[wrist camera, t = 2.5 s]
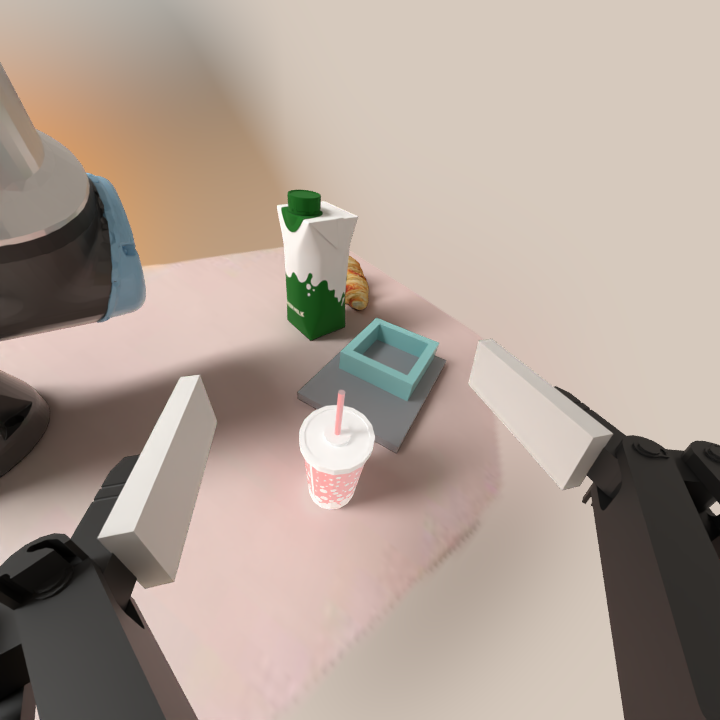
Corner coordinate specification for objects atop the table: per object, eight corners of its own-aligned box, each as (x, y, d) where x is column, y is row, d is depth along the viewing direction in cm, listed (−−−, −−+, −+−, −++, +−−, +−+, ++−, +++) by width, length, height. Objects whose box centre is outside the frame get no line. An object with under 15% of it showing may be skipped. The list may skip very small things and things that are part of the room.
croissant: (373, 326, 58) (396, 292, 54) (334, 315, 51) (357, 274, 48) (329, 277, 71) (346, 246, 67) (293, 262, 64) (309, 227, 60)
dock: (396, 453, 33) (404, 431, 30) (297, 398, 37) (296, 375, 35) (443, 366, 45) (452, 345, 43) (365, 332, 50) (368, 311, 47)
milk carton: (279, 319, 50) (268, 185, 37) (323, 304, 55) (326, 183, 42) (308, 346, 45) (307, 205, 32) (353, 327, 50) (368, 199, 37)
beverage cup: (374, 488, 30) (403, 397, 20) (327, 533, 26) (337, 447, 17) (335, 447, 33) (345, 352, 23) (288, 482, 29) (278, 386, 20)
